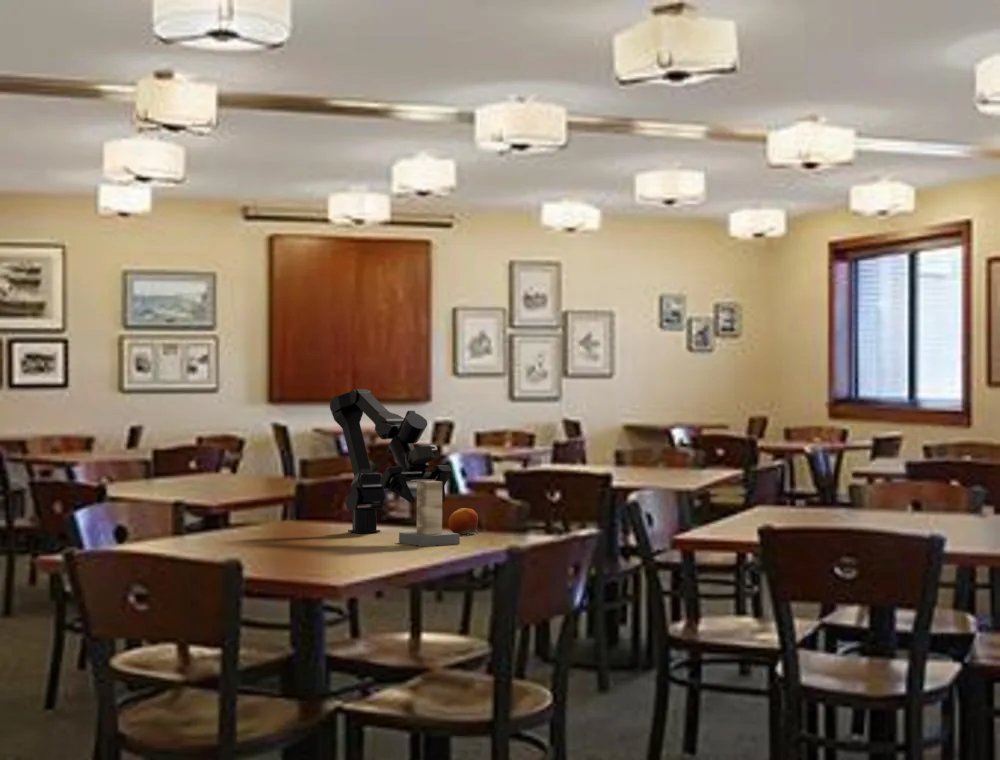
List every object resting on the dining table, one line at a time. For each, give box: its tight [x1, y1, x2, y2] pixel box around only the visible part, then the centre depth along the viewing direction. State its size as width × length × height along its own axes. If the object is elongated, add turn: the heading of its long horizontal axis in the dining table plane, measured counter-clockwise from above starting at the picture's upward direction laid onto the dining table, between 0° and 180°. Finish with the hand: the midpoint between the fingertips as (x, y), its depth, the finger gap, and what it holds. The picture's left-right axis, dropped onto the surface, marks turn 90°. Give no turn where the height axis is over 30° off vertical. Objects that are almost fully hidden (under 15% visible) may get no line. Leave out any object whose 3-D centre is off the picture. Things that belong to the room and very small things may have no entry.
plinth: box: [398, 530, 461, 547], centre depth 356 cm, size 11×11×2 cm
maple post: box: [416, 480, 443, 535], centre depth 355 cm, size 5×5×13 cm
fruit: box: [448, 507, 479, 535], centre depth 380 cm, size 8×8×8 cm
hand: (428, 501), depth 356 cm, fingers open, 9 cm apart
